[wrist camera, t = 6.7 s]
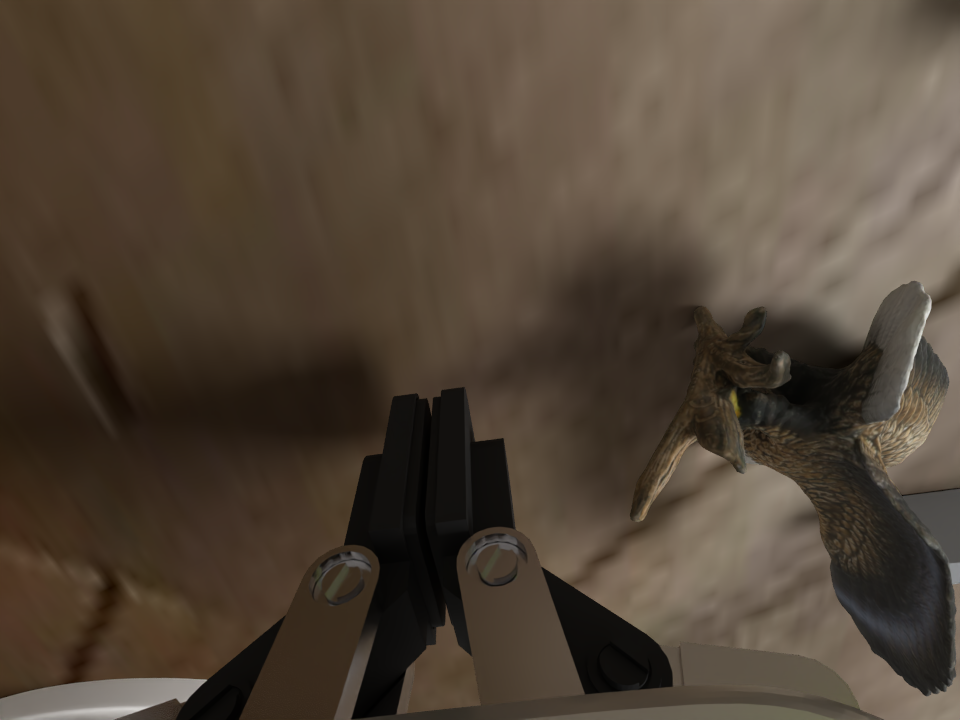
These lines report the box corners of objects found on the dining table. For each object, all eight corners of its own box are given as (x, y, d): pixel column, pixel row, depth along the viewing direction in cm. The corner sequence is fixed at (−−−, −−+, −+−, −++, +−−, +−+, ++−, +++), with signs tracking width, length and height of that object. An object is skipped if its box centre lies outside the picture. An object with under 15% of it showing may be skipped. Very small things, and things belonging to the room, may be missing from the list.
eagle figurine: (556, 480, 15) (797, 632, 16) (727, 569, 8) (1130, 826, 9) (685, 256, 16) (900, 416, 17) (938, 155, 9) (1268, 438, 10)
